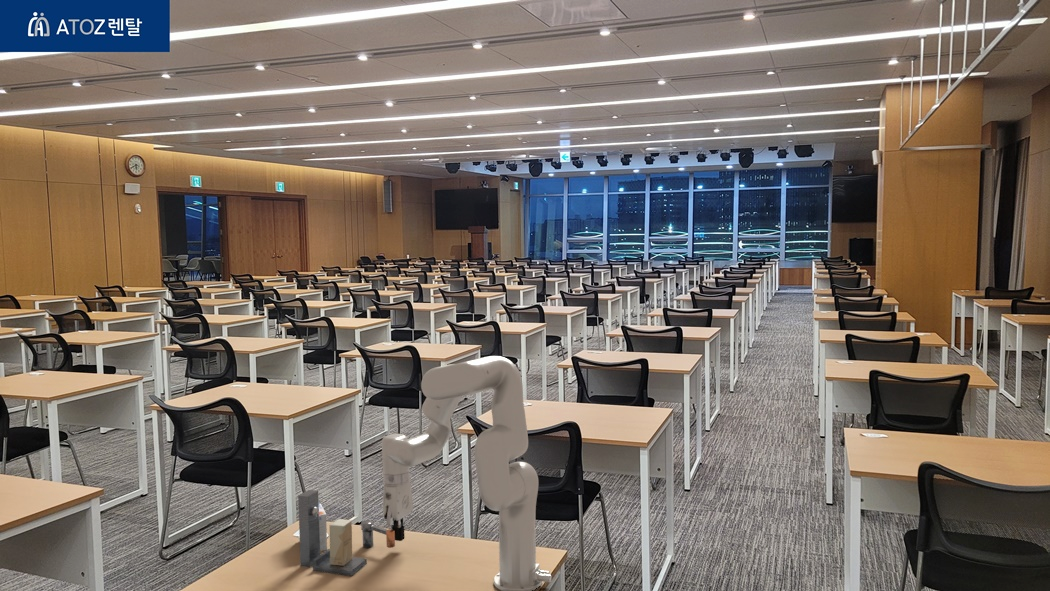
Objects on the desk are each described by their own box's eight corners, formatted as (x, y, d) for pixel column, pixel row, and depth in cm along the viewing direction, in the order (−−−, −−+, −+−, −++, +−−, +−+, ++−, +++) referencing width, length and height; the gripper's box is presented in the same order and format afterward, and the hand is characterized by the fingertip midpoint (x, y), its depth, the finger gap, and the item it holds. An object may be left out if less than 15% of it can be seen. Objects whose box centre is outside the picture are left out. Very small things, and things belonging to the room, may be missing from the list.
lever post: (375, 544, 217) (374, 528, 217) (370, 548, 214) (369, 532, 214) (366, 543, 218) (365, 527, 218) (360, 547, 215) (360, 531, 215)
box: (343, 566, 199) (342, 526, 198) (329, 564, 200) (328, 525, 199) (353, 558, 204) (352, 519, 203) (339, 556, 205) (338, 518, 205)
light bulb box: (299, 541, 221) (297, 506, 220) (322, 537, 224) (320, 502, 223) (304, 554, 211) (303, 517, 210) (328, 550, 214) (327, 514, 213)
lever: (359, 538, 216) (358, 523, 215) (368, 534, 219) (368, 519, 218) (388, 549, 208) (388, 533, 207) (398, 545, 211) (398, 529, 210)
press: (366, 564, 204) (364, 493, 203) (351, 576, 196) (349, 503, 195) (314, 556, 209) (312, 488, 208) (297, 568, 202) (294, 497, 200)
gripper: (395, 486, 204) (397, 551, 205) (419, 471, 218) (421, 531, 219) (371, 484, 206) (373, 548, 207) (397, 469, 220) (399, 529, 222)
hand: (398, 539), depth 213 cm, fingers closed
